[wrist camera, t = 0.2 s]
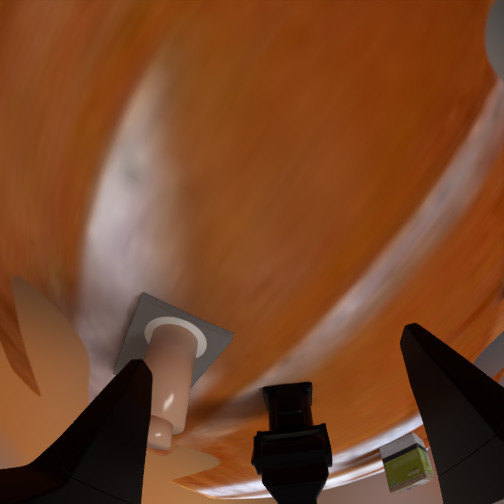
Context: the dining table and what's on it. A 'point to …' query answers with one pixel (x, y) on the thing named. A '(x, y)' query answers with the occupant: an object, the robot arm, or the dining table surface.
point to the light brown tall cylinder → (169, 381)
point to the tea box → (406, 463)
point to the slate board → (160, 313)
